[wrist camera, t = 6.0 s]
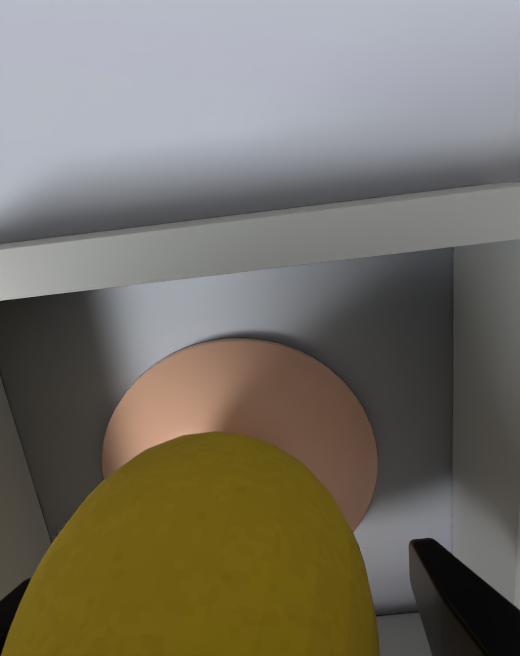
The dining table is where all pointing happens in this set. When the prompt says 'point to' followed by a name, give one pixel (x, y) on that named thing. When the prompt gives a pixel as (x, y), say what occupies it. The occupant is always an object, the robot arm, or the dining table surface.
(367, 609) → the lemon
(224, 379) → the corral
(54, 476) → the dining table surface
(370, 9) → the dining table surface
